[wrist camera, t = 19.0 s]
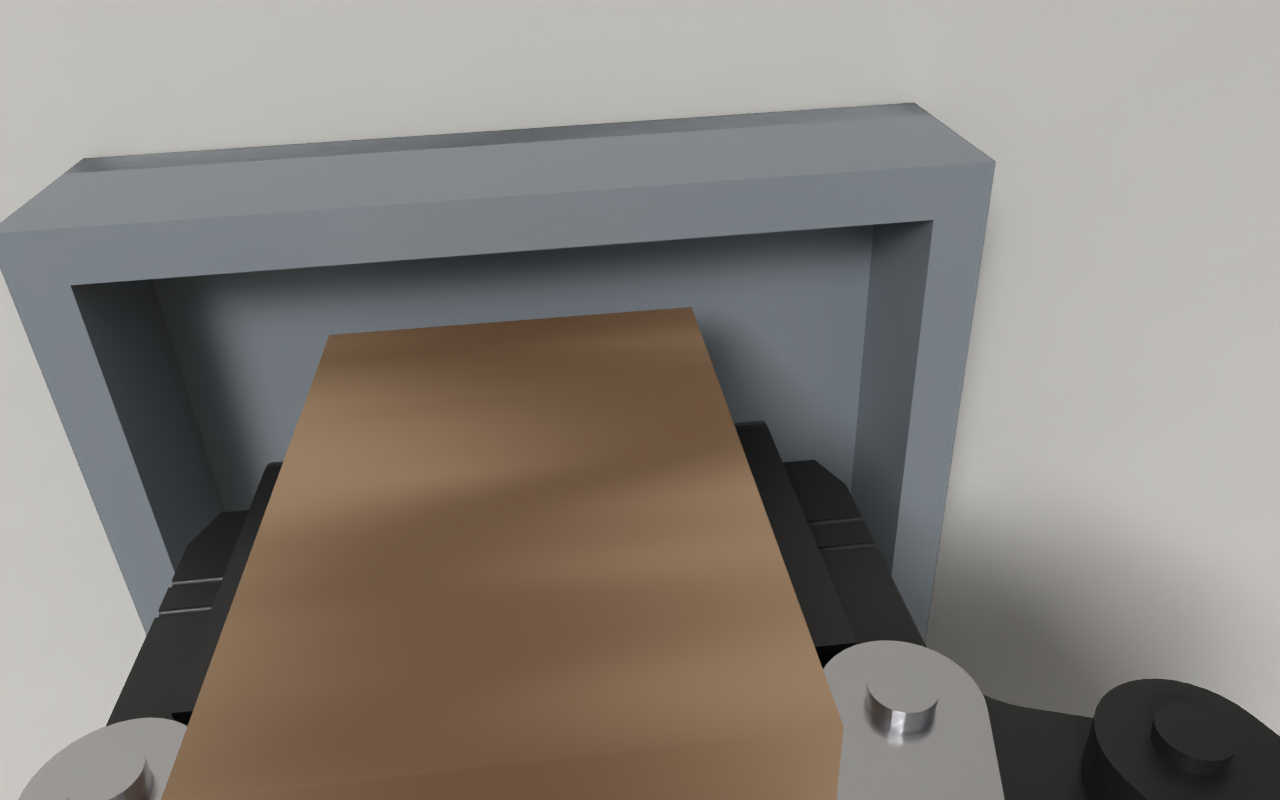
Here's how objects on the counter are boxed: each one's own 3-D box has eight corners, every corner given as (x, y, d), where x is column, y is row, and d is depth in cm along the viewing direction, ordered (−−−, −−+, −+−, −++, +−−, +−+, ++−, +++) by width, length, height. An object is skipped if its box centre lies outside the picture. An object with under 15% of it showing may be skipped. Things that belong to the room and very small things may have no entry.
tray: (914, 102, 13) (995, 161, 10) (838, 852, 20) (875, 974, 18) (83, 158, 12) (-14, 233, 10) (334, 913, 20) (310, 1047, 17)
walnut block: (691, 306, 11) (844, 727, 6) (694, 579, 13) (808, 1068, 8) (329, 335, 11) (160, 803, 6) (389, 610, 13) (304, 1139, 8)
